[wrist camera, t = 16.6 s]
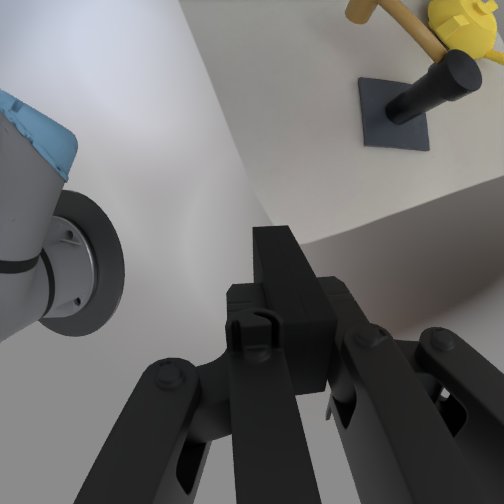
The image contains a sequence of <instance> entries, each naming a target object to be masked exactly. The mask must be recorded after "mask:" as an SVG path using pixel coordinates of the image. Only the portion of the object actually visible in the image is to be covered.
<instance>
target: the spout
mask: <svg viewBox="0 0 504 504" xmlns="http://www.w3.org/2000/svg"><path fill="white" fill-rule="evenodd" d="M378 4H379V5H380V6H381V7H382V8H383V9H384V10H385V11H387V12H388V13H389V14H390V15H391V16H392V17H393V18H394V19H395V20H396V21H397V22H398V23H399V24H400V25H401V26H402V27H403V28H404V29H405V30H406V31H407V32H408V33H409V34H410V35H411V36H412V37H413V39H414V40H415V41H416V42H417V43H418V44H419V45H420V46H421V47H422V48H423V50H424V51H425V52H426V53H427V54H428V55H429V56H430V58H431V59H432V60H433V61H434V62H435V63H433V64H432V65H431V66H430V67H429V69H428V80H429V83H430V85H431V87H432V88H433V90H434V91H435V92H436V93H437V94H438V95H439V96H440V97H441V98H443V99H445V100H447V101H456V100H458V99H460V98H462V97H464V96H466V95H468V94H470V93H472V92H474V91H476V90H478V89H479V88H480V87H481V84H482V76H481V72H480V69H479V67H478V65H477V64H476V62H475V61H474V60H473V59H472V58H471V57H470V56H469V55H468V54H467V53H465V52H464V51H461V50H458V49H452V50H450V51H449V52H448V51H447V50H446V49H445V48H444V46H443V45H442V44H441V43H440V42H439V41H438V40H437V38H436V37H435V36H434V35H433V34H432V33H431V32H430V31H429V30H428V29H427V27H426V26H425V25H424V24H423V23H422V22H421V21H420V20H419V19H418V18H417V17H416V16H415V15H414V14H413V13H412V12H411V11H410V10H409V9H408V8H407V7H406V6H405V5H404V4H403V3H401V2H400V1H399V0H350V1H349V3H348V6H347V8H346V10H345V15H346V17H347V18H348V19H349V20H350V21H351V22H353V23H355V24H365V23H366V22H367V21H368V20H369V18H370V16H371V15H372V13H373V11H374V10H375V8H376V6H377V5H378Z"/></svg>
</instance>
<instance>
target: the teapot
mask: <svg viewBox="0 0 504 504" xmlns="http://www.w3.org/2000/svg"><path fill="white" fill-rule="evenodd" d="M498 7H499V6H498V5H497V4H496V3H495V2H494V1H493V0H490V1H488V2H487V3H485V4H484V3H483V2H482V1H481V0H432V1H431V2H430V3H429V6H428V16H429V20H430V21H429V22H428V25H429V27H430V28H431V29H432V30H434V31H435V33H436V34H437V36H438V37H439V38H440V40H441V41H442V42H443V43H444V44H445V45H446V46H447V47H449V50H452V49H458V50H461V51H464V52H465V53H467V54H468V55H469V56H470V57H471V58H472V59H482V58H483V57H485V58H487V59H490V60H492V61H495V62H497V63H499V64H502V65H504V54H503V53H500V52H497V51H494V50H492V48H493V46H494V43H495V39H496V33H497V24H496V20H495V18H494V16H493V14H492V12H493V11H494V10H495V9H497V8H498Z"/></svg>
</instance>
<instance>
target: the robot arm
mask: <svg viewBox="0 0 504 504" xmlns="http://www.w3.org/2000/svg"><path fill="white" fill-rule="evenodd" d="M77 149H78V142H77V139H76V137H75V135H74V134H73V133H72V132H71V131H69V130H68V129H66V128H65V127H63V126H62V125H60V124H58V123H57V122H55V121H54V120H52V119H50V118H49V117H47V116H46V115H44V114H42V113H40V112H39V111H37V110H36V109H34V108H32V107H30V106H29V105H27V104H25V103H23V102H22V101H20V100H18V99H17V98H15V97H14V96H12V95H10V94H8V93H7V92H5V91H3V90H1V89H0V342H2V341H3V340H5V339H6V338H8V337H10V336H11V335H13V334H15V333H16V332H18V331H20V330H22V329H23V328H25V327H27V326H28V325H30V324H32V323H34V322H35V321H37V320H39V319H41V318H55V317H68V316H71V315H74V314H75V313H77V312H79V311H80V310H82V309H83V308H85V307H86V306H87V305H88V303H89V302H90V301H91V299H92V297H93V295H94V293H95V290H96V286H97V281H98V264H97V258H96V254H95V251H94V248H93V245H92V243H91V241H90V239H89V237H88V236H87V234H86V233H85V231H84V230H83V229H82V228H81V227H80V226H79V225H78V224H77V223H76V222H74V221H73V220H71V219H69V218H67V217H63V216H52V215H53V212H54V210H55V207H56V204H57V201H58V199H59V196H60V194H61V191H62V188H63V186H64V183H65V182H66V183H67V181H68V174H69V171H70V168H71V166H72V163H73V161H74V158H75V156H76V153H77ZM253 269H254V283H245V284H232V286H231V287H230V288H229V290H228V291H227V293H226V296H227V322H226V325H225V331H226V342H227V349H226V351H225V352H224V353H223V354H222V356H220V357H219V358H218V359H216V360H214V361H212V362H210V363H207V364H204V365H200V366H197V367H195V366H194V365H193V364H192V363H190V362H189V361H187V360H184V359H181V358H166V359H162V360H158V361H156V362H154V363H153V364H151V365H149V366H148V368H147V369H146V370H145V371H144V372H143V374H142V376H141V378H140V379H139V381H138V383H137V385H136V386H135V388H134V390H133V392H132V394H131V395H130V397H129V399H128V401H127V403H126V404H125V406H124V408H123V410H122V412H121V414H120V415H119V418H118V419H117V421H116V423H115V425H114V426H113V428H112V430H111V432H110V434H109V436H108V438H107V439H106V441H105V443H104V445H103V447H102V449H101V451H100V453H99V455H98V457H97V459H96V460H95V462H94V464H93V466H92V468H91V470H90V472H89V474H88V476H87V478H86V479H85V481H84V483H83V485H82V488H81V489H80V491H79V493H78V495H77V497H76V499H75V501H74V503H73V504H193V502H194V499H195V496H196V492H197V489H198V486H199V483H200V479H201V476H202V473H203V469H204V466H205V463H206V459H207V455H208V452H209V449H210V446H211V442H212V440H215V439H219V438H222V437H225V436H228V435H231V434H232V446H233V460H234V474H235V489H236V500H237V504H322V503H321V499H320V495H319V491H318V487H317V482H316V478H315V475H314V470H313V466H312V462H311V458H310V454H309V450H308V446H307V442H306V438H305V434H304V430H303V426H302V422H301V418H300V413H299V410H298V405H297V401H296V398H295V395H303V394H310V393H317V392H323V391H325V387H326V383H327V380H328V383H329V385H330V388H331V394H330V399H329V403H328V407H327V411H326V420H329V419H330V416H331V413H332V414H333V416H334V420H335V423H336V426H337V429H338V432H339V435H340V438H341V441H342V444H343V448H344V451H345V454H346V457H347V460H348V463H349V466H350V470H351V473H352V476H353V479H354V482H355V486H356V489H357V492H358V495H359V499H360V502H361V504H504V374H503V373H502V372H500V371H499V370H498V369H497V368H496V367H495V366H494V365H492V364H491V363H490V362H489V361H488V360H486V359H485V358H484V357H483V356H482V355H481V354H480V353H478V352H477V351H476V350H475V349H474V348H472V347H471V346H470V345H469V344H467V343H466V342H465V341H464V340H463V339H461V338H460V337H459V336H458V335H457V334H455V333H453V332H452V331H450V330H448V329H445V328H441V327H431V328H428V329H426V330H424V331H423V332H422V333H421V336H420V339H419V341H403V340H394V339H393V337H392V336H391V335H390V333H389V332H388V331H387V330H386V329H384V328H382V327H380V326H378V325H375V324H372V323H369V321H368V319H367V318H366V316H365V315H364V313H363V311H362V310H361V308H360V307H359V305H358V304H357V302H356V301H355V300H354V298H353V296H352V294H351V293H350V291H349V290H348V288H347V287H346V285H345V284H344V283H343V282H342V281H340V280H339V279H337V278H336V277H334V276H330V277H318V278H316V276H315V274H314V272H313V270H312V268H311V266H310V265H309V263H308V261H307V259H306V257H305V255H304V253H303V252H302V250H301V248H300V246H299V244H298V243H297V241H296V239H295V237H294V235H293V234H292V232H291V230H290V228H289V226H288V225H286V226H265V227H253ZM444 388H445V389H446V390H447V391H448V392H449V393H450V395H449V397H448V398H444V397H443V396H441V395H440V394H441V392H442V391H443V389H444Z"/></svg>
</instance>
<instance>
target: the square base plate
mask: <svg viewBox="0 0 504 504" xmlns="http://www.w3.org/2000/svg"><path fill="white" fill-rule="evenodd" d="M358 85H359V92H360V101H361V110H362V120H363V131H364V143H365V146H371V147H386V148H398V149H409V150H419V151H429V150H430V147H429V137H428V128H427V120H426V113H425V112H427V111H429V110H430V109H432V108H434V107H436V106H438V105H440V104H442V103H444V102H446V101H447V100H445V99H443V98H441V97H440V96H439V95H438V94H437V93H436V92H435V91H434V90H433V88H432V87H431V85H430V83H429V80H428V73H427V74H425V75H424V76H423V77H421V78H420V79H419V80H417V81H416V82H415V83H413V84H406V83H400V82H394V81H387V80H380V79H371V78H363V77H360V78H359V79H358Z"/></svg>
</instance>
